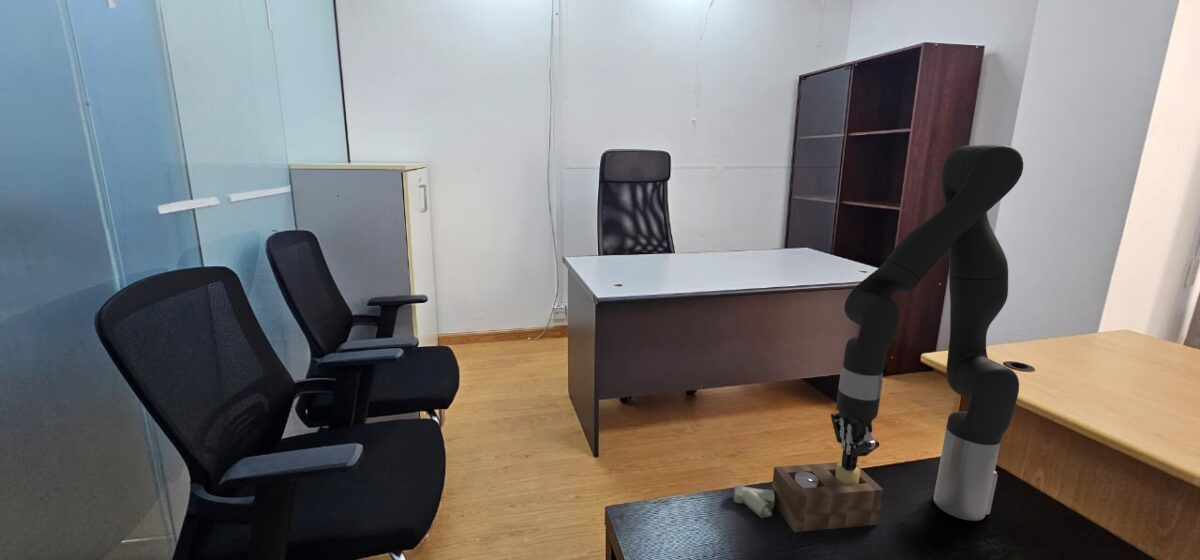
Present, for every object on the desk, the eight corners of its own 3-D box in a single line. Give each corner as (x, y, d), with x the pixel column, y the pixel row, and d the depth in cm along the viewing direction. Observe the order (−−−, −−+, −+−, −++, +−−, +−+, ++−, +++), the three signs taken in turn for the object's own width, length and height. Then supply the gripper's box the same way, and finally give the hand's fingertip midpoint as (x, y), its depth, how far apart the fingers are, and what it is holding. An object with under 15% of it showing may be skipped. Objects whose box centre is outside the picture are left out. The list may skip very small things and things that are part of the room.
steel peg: (807, 502, 110) (810, 470, 108) (818, 516, 106) (822, 483, 104) (787, 504, 109) (791, 472, 108) (798, 518, 105) (802, 485, 103)
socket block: (847, 493, 114) (852, 461, 113) (877, 524, 105) (883, 489, 103) (770, 499, 112) (774, 466, 110) (794, 532, 102) (798, 496, 100)
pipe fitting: (774, 524, 105) (772, 501, 111) (776, 508, 104) (774, 486, 110) (733, 517, 107) (733, 495, 113) (734, 501, 106) (735, 480, 112)
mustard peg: (847, 493, 111) (851, 461, 109) (860, 506, 107) (864, 473, 105) (828, 494, 110) (832, 462, 109) (840, 508, 106) (844, 475, 104)
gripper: (899, 404, 97) (886, 486, 101) (856, 376, 110) (845, 449, 114) (863, 406, 96) (850, 489, 100) (823, 377, 109) (813, 451, 113)
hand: (848, 468), depth 107 cm, fingers closed
